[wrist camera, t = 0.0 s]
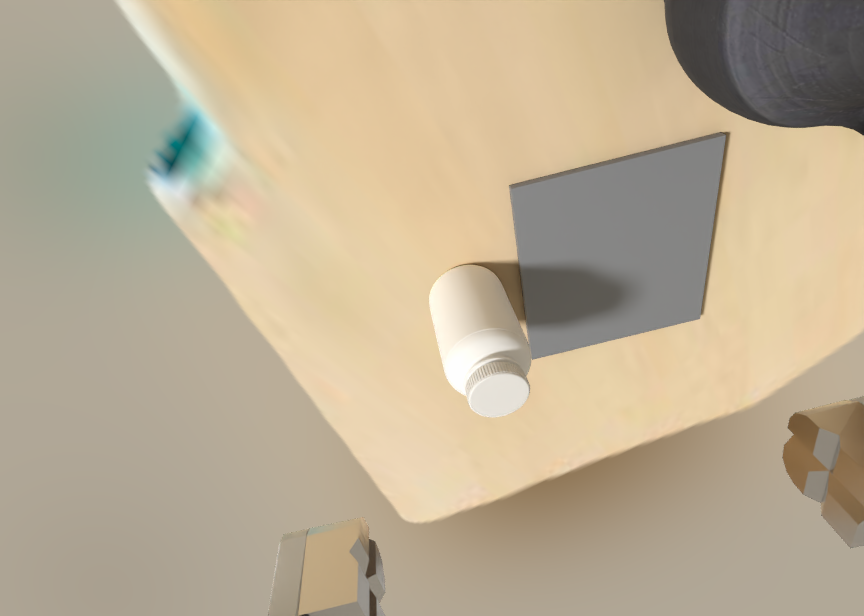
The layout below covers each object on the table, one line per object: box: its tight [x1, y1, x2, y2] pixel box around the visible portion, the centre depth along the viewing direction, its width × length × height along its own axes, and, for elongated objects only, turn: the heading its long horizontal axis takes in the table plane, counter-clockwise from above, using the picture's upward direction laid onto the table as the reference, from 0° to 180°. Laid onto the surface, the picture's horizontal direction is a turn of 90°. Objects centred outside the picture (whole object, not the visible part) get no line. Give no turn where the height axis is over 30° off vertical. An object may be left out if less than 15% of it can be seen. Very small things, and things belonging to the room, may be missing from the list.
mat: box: [509, 132, 726, 360], centre depth 55 cm, size 22×20×1 cm
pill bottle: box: [429, 265, 531, 417], centre depth 49 cm, size 8×8×15 cm
